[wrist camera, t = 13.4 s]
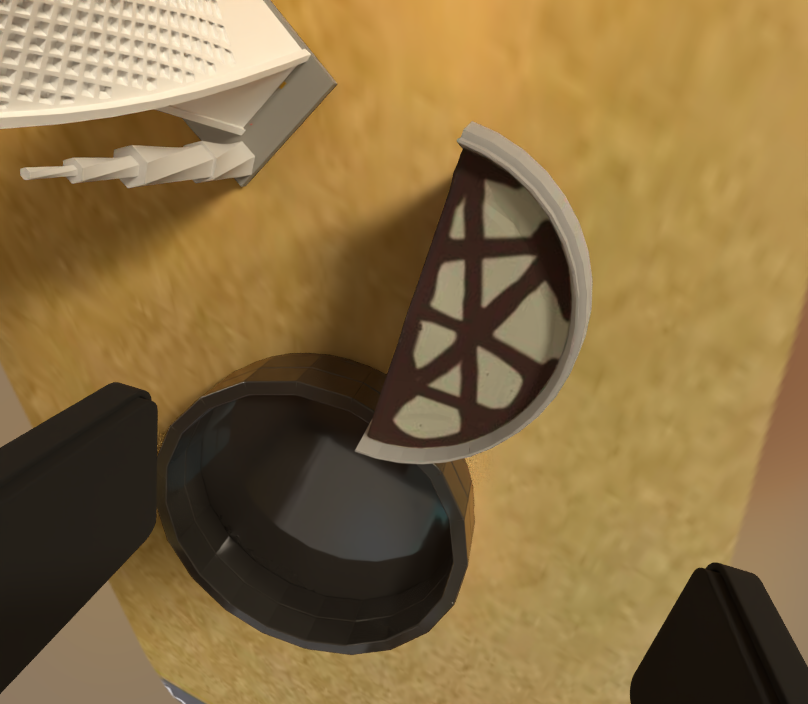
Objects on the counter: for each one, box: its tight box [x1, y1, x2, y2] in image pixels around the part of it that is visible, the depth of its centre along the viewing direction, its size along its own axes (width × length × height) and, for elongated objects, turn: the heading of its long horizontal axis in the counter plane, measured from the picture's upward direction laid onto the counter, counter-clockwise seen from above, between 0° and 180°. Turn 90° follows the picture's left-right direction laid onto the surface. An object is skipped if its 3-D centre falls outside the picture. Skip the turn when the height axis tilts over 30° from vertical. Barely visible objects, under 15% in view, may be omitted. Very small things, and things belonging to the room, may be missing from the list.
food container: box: [355, 121, 592, 464], centre depth 21 cm, size 12×6×10 cm, turn 163°
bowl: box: [157, 353, 475, 655], centre depth 31 cm, size 19×19×4 cm
